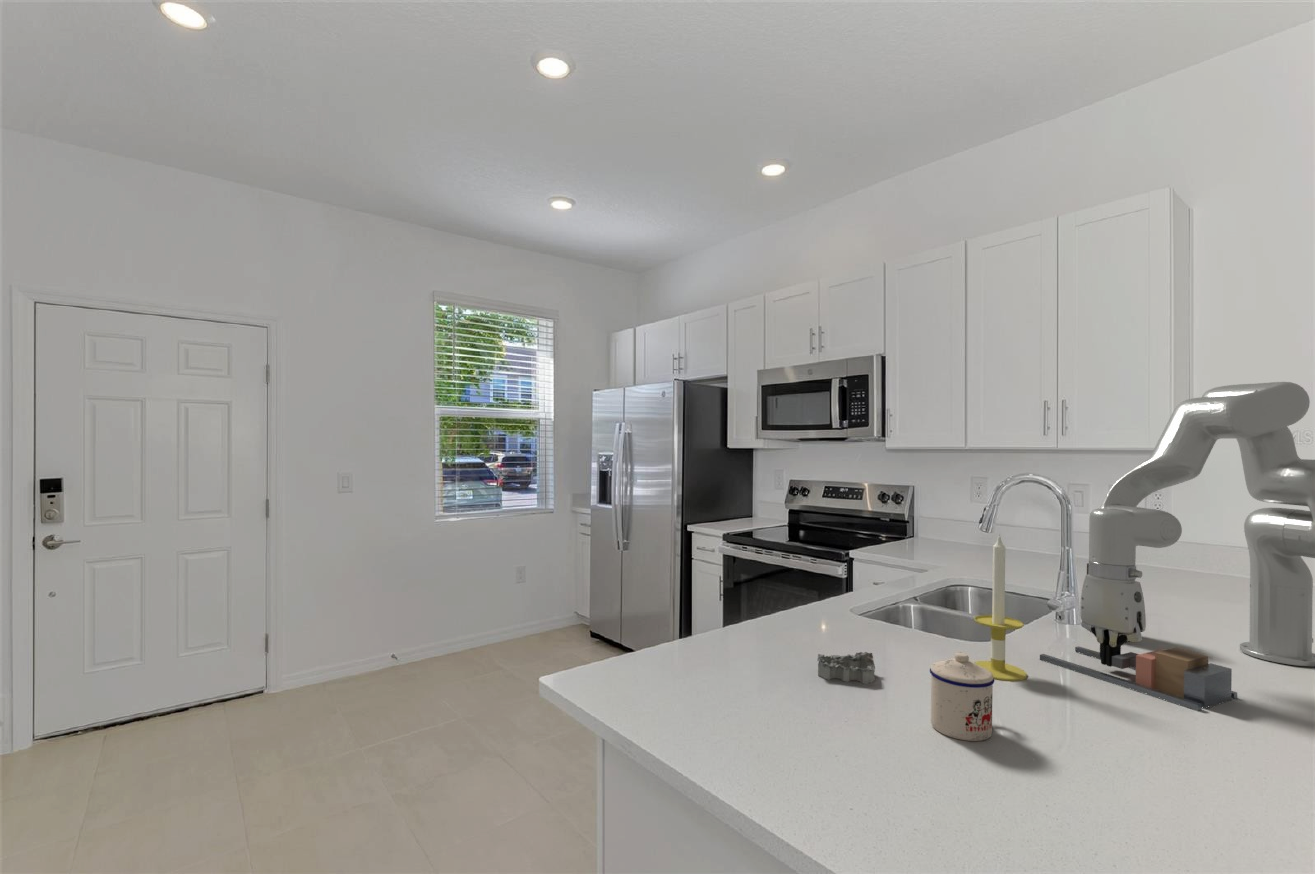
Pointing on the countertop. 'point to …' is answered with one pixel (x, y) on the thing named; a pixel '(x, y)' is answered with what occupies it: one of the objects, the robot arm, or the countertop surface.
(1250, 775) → the countertop surface
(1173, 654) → the block
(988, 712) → the teacup with lid
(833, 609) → the countertop surface
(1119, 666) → the block
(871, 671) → the egg carton
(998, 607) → the candle
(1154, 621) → the countertop surface
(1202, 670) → the vise bed
